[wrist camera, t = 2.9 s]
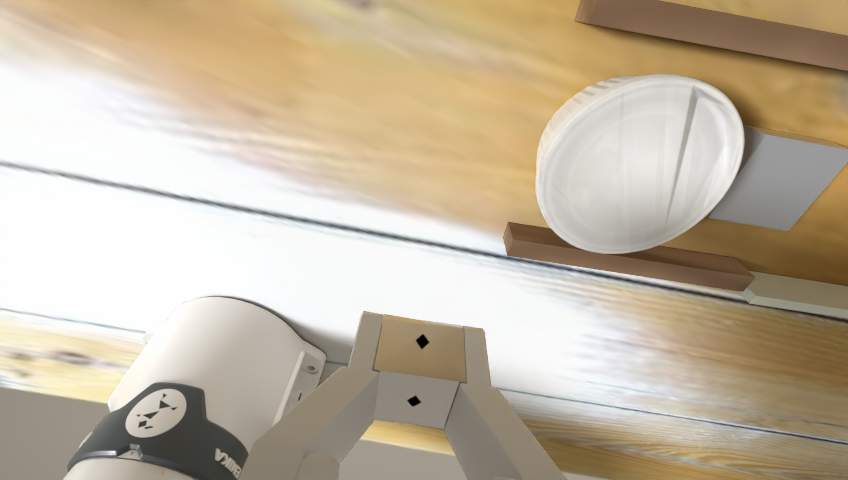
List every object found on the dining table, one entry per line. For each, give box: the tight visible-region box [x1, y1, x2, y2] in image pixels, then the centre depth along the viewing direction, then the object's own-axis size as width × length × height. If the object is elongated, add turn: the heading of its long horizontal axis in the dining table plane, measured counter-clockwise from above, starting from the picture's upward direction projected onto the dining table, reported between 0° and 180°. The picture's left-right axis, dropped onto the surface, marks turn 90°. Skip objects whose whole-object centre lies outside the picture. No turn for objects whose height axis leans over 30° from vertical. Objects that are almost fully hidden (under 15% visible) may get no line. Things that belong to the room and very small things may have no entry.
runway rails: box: [503, 0, 848, 292], centre depth 25 cm, size 17×19×2 cm
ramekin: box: [535, 74, 745, 254], centre depth 23 cm, size 11×11×5 cm
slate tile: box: [706, 125, 848, 231], centre depth 25 cm, size 6×6×2 cm
